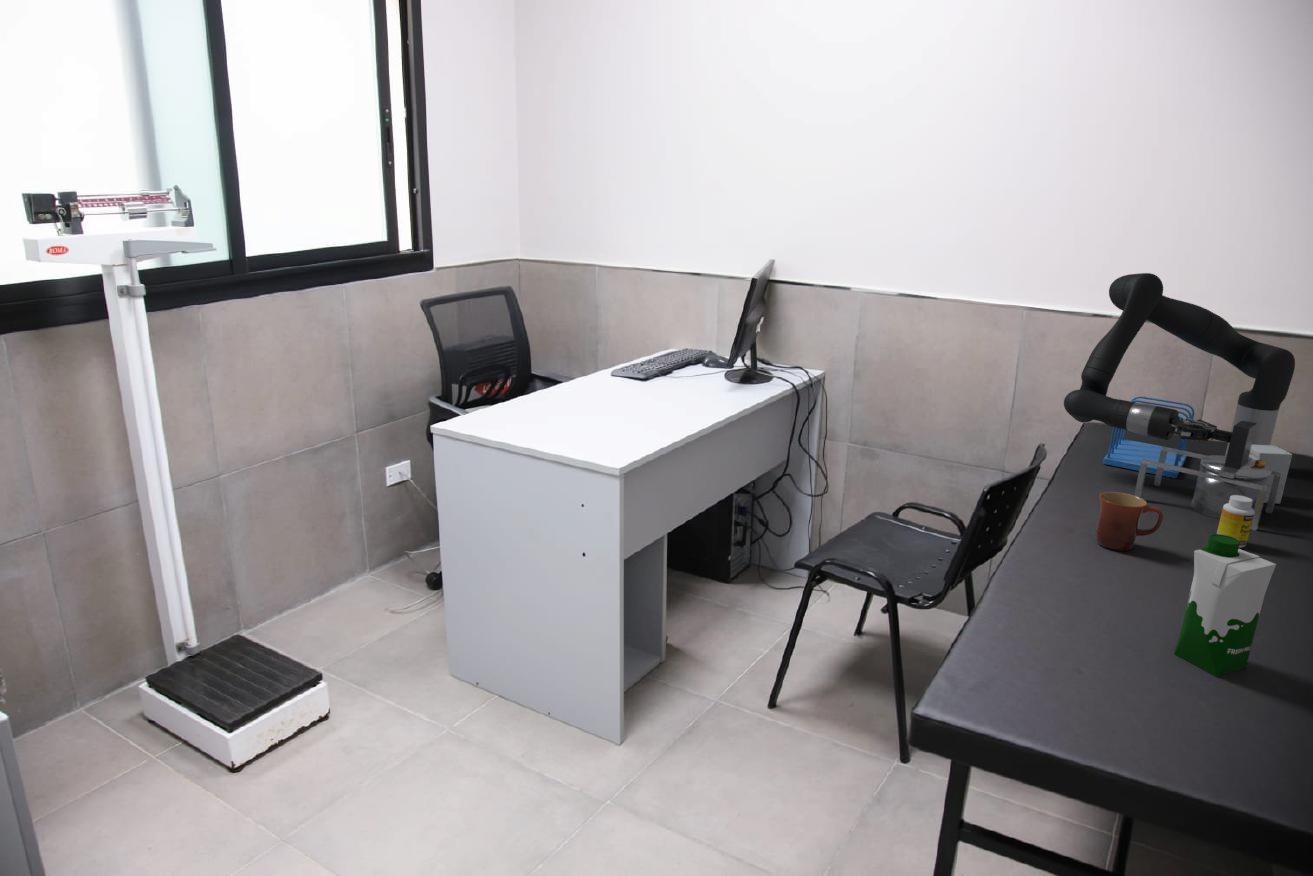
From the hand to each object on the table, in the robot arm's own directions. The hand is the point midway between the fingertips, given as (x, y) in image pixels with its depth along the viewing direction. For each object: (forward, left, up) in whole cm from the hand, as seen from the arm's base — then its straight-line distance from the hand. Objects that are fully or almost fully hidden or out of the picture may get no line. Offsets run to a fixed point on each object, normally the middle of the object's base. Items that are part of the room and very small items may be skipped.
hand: (1234, 438), depth 198 cm
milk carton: (+79, +17, -18) cm, 83 cm away
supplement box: (-17, +4, -18) cm, 25 cm away
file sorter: (-28, -24, -18) cm, 41 cm away
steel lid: (0, +2, -7) cm, 7 cm away
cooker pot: (0, -3, -17) cm, 18 cm away
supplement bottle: (+21, +7, -18) cm, 28 cm away
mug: (+41, -8, -18) cm, 45 cm away
